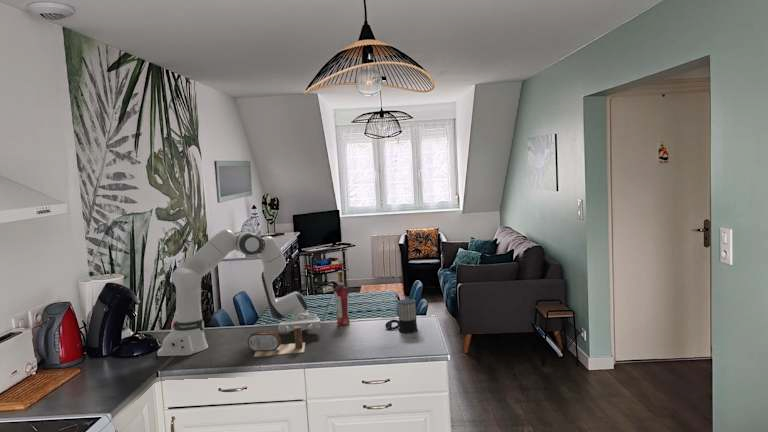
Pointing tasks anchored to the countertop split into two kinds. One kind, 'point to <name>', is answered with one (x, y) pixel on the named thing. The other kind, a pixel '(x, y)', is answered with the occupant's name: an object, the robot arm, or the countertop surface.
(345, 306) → the liquor
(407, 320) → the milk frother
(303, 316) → the robot arm
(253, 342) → the tin
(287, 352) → the light wood stand
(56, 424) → the countertop surface
